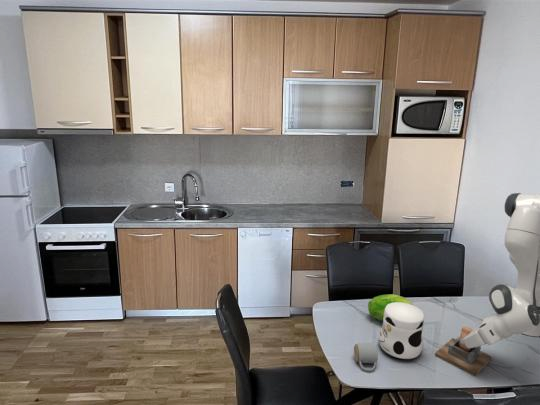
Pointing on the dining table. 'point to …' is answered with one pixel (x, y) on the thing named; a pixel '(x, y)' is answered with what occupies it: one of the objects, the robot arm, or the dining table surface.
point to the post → (464, 333)
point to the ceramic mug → (366, 354)
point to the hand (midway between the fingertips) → (464, 338)
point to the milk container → (402, 330)
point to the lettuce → (383, 304)
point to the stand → (463, 357)
